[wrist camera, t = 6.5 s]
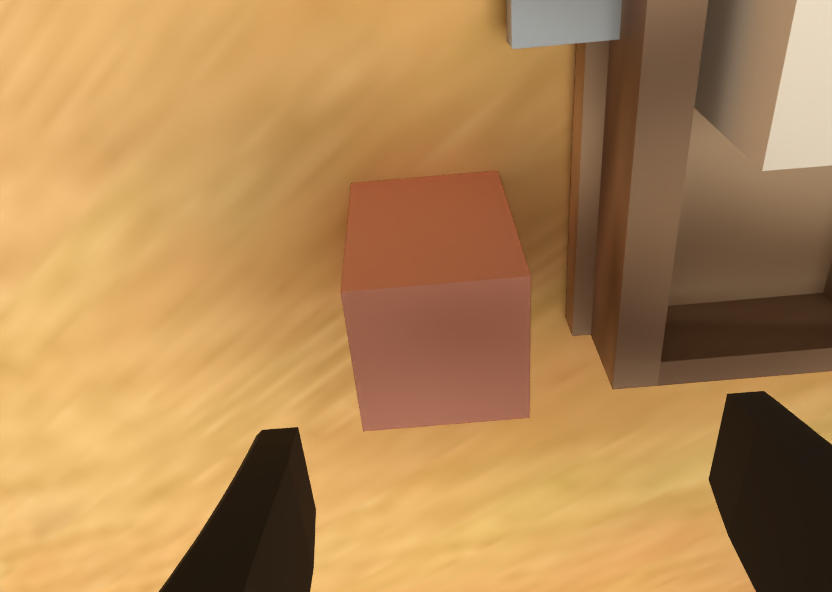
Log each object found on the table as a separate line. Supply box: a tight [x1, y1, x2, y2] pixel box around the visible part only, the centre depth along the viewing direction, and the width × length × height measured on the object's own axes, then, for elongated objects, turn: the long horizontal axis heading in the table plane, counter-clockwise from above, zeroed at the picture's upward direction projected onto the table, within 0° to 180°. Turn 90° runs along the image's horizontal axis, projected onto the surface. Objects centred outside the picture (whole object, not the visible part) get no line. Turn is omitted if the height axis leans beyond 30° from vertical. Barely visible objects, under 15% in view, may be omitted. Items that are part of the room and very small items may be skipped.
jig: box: [506, 0, 832, 389], centre depth 17 cm, size 16×13×4 cm
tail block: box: [341, 171, 531, 431], centre depth 19 cm, size 4×4×6 cm
